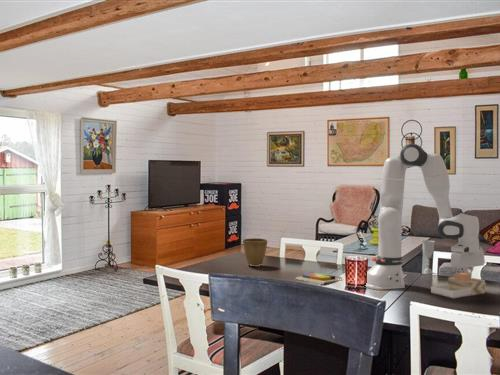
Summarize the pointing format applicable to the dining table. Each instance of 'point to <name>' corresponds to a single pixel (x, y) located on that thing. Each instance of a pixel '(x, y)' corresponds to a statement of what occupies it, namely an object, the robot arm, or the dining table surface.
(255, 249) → the plant pot
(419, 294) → the dining table surface
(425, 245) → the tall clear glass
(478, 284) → the bench plate
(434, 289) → the box
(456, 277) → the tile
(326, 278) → the wooden puzzle
